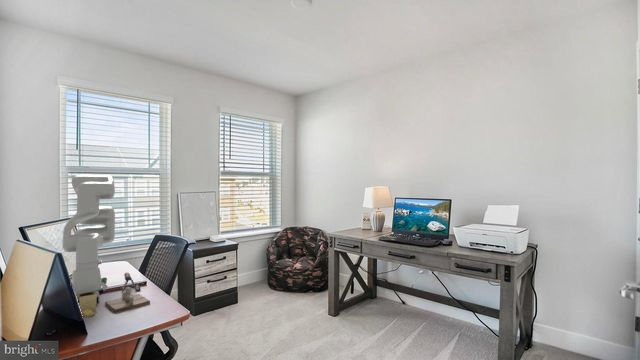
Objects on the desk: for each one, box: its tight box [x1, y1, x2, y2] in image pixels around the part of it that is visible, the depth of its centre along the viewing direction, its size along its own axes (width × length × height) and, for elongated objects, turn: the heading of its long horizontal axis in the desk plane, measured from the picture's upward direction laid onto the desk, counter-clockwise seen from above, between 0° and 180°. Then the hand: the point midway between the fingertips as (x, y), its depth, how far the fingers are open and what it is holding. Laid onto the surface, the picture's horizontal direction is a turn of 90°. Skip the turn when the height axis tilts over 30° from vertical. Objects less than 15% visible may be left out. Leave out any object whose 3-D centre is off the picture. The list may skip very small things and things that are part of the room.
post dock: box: [104, 287, 151, 314], centre depth 143 cm, size 13×14×8 cm
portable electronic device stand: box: [121, 272, 141, 294], centre depth 162 cm, size 9×8×8 cm
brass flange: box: [78, 292, 98, 319], centre depth 134 cm, size 12×6×8 cm, turn 50°
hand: (85, 307), depth 134 cm, fingers closed on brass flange, 5 cm apart
